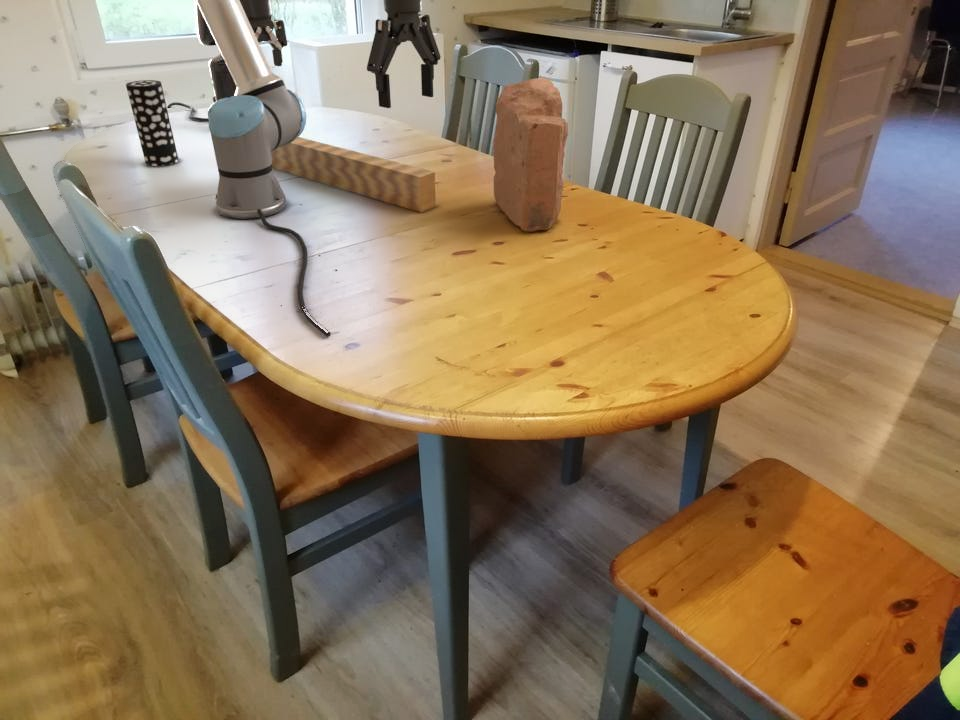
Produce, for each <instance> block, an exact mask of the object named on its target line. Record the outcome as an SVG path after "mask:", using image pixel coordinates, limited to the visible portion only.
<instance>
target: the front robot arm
mask: <svg viewBox="0 0 960 720" xmlns="http://www.w3.org/2000/svg"><path fill="white" fill-rule="evenodd" d="M196 2H197V4H198V6H199V8H200V10H201V12H202V14H203V17H204V19H205V21H206V23H207V25H208V27H209V29H210V31H211V33H212V35H213V38H214V40H215V42H216V44H217V46H216V47H217V48H218V49H219V52H220V54H222V56H223V59H224V61H225V63H226V65H227V67H228V69H229V71H230V73H231V75H232V77H233V80H234V82H235V84H236V86H237V89H236V92H235V96H231V97H230V98H223V99H220V100H218V101H216V102H214V103H212V104H211V105H210V106H209V108H208V109H207V118H208V120H209V121H208V130H209V132H210V136H211V142H212V147H213V151H214V156H215V161H216V167H217V169H218V170H217V172H218V185H217V193H216V195H215V206H216V210H217V213H218V214H219V215H221V216H223V217H225V218H229V219H236V220H253V219H261V222H262V225H263V226H265V227H266V228H268V229H270V230H274V231H277V232H283V233H287V234H290V235H292V236H293V237H294V238H295V239H297V242H298V243H299V246H300V248H301V250H302V263H301V268H300V272H299V277H298V284H297V300H298V301H297V302H298V305H299V308H300V311H301V312H302V314H303V315H304V317H305V319H306V320H307V321H308V322H309V323H310V324H311V325H312V327H314V328H315V329H316V330H318V331H320V332H321V333H322V334H323V335H324V336H325V337H327V338H329V337H331V335H332V333H331V332H330V331H329V330H328V329H327V328H325V327H324V328H325V329H326V330H327V331H329V332H328V333H326V332H325V331H324V330H323V329H321V328H320V327H319V326H318V325H316V324H315V323H314V322H313V321H312V320H311V319H310V318H309V317H308V316H307V315H306V313H305V312H306V311H305V312H304V310H303V309H305V308H306V310H307V312H308V313H309V314H310V312H309V311H308V309H307V307H306V304H305V299H304V282H305V278H306V277H305V276H306V270H307V267H308V249H307V245H306V242H305V241H304V239H303V238H302V236H301V235H300V234H299V233H298V232H297V231H295V230H293V229H290V228H287V227H284V226H279V225H274V224H271V223H269V222H268V221H267V219H266V218H267V217H270V216H274V215H276V214H278V213H280V212H282V211H283V210H285V209H286V207H287V199H286V194H285V193H284V191H283V189H282V187H281V184H280V182H279V180H278V179H277V177H276V175H275V172H274V168H273V167H272V160H271V153H270V152H271V151H273V150H275V149H277V148H279V147H281V146H283V145H286V144H288V143H291V142H292V141H294V140H295V139H296V138H297V137H300V136H301V135H302V134H303V132H304V130H305V127H306V125H307V112H306V107H305V104H304V102H303V100H302V99H301V97H299V95H298V94H296V92H293V91H292V90H291V89H288V88H287V86H286V84H285V82H284V79H283V78H282V77H281V76H279V75H277V74H274V72H272V70H271V67H270V65H269V63H268V60H267V57H266V55H265V53H264V52H263V49H262V47H261V44H260V42H259V43H258V40H257V38H256V36H255V34H254V31H253V29H252V27H251V25H250V23H249V20H248V18H247V16H246V14H245V11H244V9H243V7H242V5H241V3H240V0H196ZM383 9H384V12H386V14H387V18H386V19H379V18H378V19H376V20H375V25H374V27H375V28H374V29H375V31H374V35H373V36H374V37H373V40H372V45H371V49H370V53H369V57H368V61H367V65H366V71H367V72H370V73H372V74H374V76H375V90H376V91H377V97H378V106H379V107H380V108H385V109H391V108H392V101H391V86H390V85H391V82H390V74H388V73H387V71H388V69H389V67H390V65H391V62H392V60H393V58H394V55H395V53H396V51H397V49H398V47H399V46H401V44H402V43H407V42H411V44H412V46H413V47H414V49H415V50H416V52H417V53H418V55H419V57H420V59H421V61H422V62H423V63H421V64H420V78H421V79H420V80H421V81H420V82H421V96H423V97H427V98H434V79H435V66H437V65H438V64H439V61H440V60H441V52H440V50H439V48H438V44H437V42H436V39H435V35H434V33H433V30H432V26H431V18H430V15H429V14H423V13H421V11H422V0H383ZM304 306H305V307H304ZM302 307H303V308H302ZM310 316H311V317H312V318H313V319H314V320H315V321H316V322H317V323H319V322H318V321H317V320H316V319H315V318H314V317H313V316H312V314H310ZM320 325H321V326H323V325H322V324H320Z"/></svg>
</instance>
